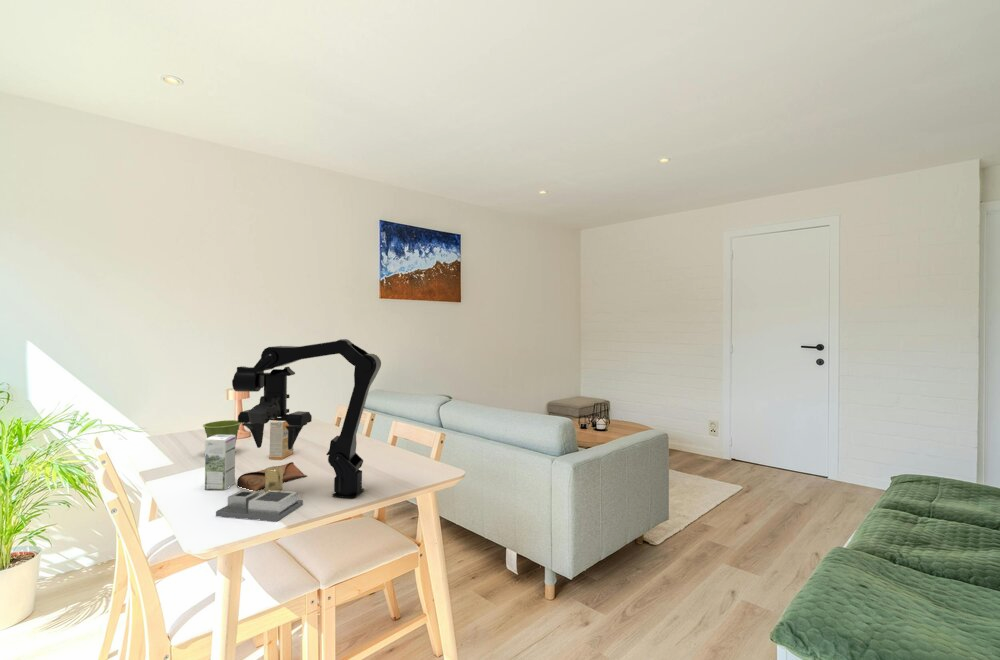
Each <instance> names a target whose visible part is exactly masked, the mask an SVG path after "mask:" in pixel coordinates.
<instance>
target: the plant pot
mask: <svg viewBox="0 0 1000 660" xmlns="http://www.w3.org/2000/svg"><path fill="white" fill-rule="evenodd" d="M240 425H242V423H238V419H237V420H236V419H230V420H229V419H228V420H216V421H210V422H206V423H204V424H203V425H202V427H203V428H204V432H205V434H206V439H207V438H209V437H211V436H213V435H235V436H236V441H237V439H238V432H239V430H240ZM236 444H237V442H236V443H235V446H236Z"/></svg>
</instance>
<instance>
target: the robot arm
mask: <svg viewBox="0 0 1000 660" xmlns="http://www.w3.org/2000/svg"><path fill="white" fill-rule="evenodd" d="M331 355H341V356H342V357H343V358H344V359H345V360H346V361H347V362H348V363H350V364H351V365H352V366H354V372H353V378H354V379H353V380H354V381H353V382H354V384H353V389H352V393H351V396H350V400H349V403H348V405H347V406H348V407H347V410H346V414H345V417H344V420H343V423H342V428H341V430H340V434H339V435H336V436H335V437H333V438H332V439H331V440H330V443H329V449H328V452H327V453H326V456H328V457H327V462H328V464H329V465H330V467H332V468H333V469H334V474H335V477H334V479H333V482H334V483H333V492H334V493H333V494H332V497H334V498H344V499H345V498H347V499H355V498H357V497H358V496H359V495H360V493H361V492H362V493H363V492H364V491H365V488H363V470H361V467H362V466H363V463H364V459H363V458H362V457H361V456H360V455H359V454H358V453H357V452H356V451H357V443H358V442H357V432H358V430H359V426H360V423H361V420H362V419H361V418H362V415H363V412H364V409H365V406H366V400H367V398H368V395H369V390H370V388H371V387H372V384H373V382H374V380H375V379H376V377H377V375H378V374H379V371H380V369H381V366H382V361H381V358H380V356H378V355H377V354H375V353H368V352H367V351H366V350H365V349H363V348H361V347H359V346H358V345H356V344H354V343H353V342H351V341H350V340H349V339H346V338H342V339H341V338H340V339H338V340H335V341H327V342H320V343H314V344H308V345H302V346H296V345H295V346H293V345H277V346H276V345H275V346H268V347H266V348H264V349H263V350H262V352H261V354H260V359H259V360H258V361H257V362H256V364H255V365H254V366H251V367H250V366H244V365H243V366H242V365H241V366H237V367H236V372H235V373H234V375H233V378H232V380H231V384H232V388H233V390H234V391H235V392H246V393H247V392H249V393H250V392H255V393H257V392H260V391H261V389H262V388H263V395H262V396H261V395H260V398H259V402H258V404H255V405H254V406H253V407H252V408H251V409H248V410H244V411H243V410H241V411H240V412H239V414H238V415H237V420H238V423H241V425H242V426H243V427H244V426H245V427H246V428H247V429H248V430H249V431H250V433H251V435H252V438H253V439H254V443H255V445H256V447H257V448H258V449H260V448H262V444H263V439H264V431H265V429H264V428H265V424H268V423H270V422H269V421H274V420H275V421H287V423H288V424H289V425H288V426H286V428H287V430H288V450H290V449H292V447H293V448H294V445H295V442H296V440H297V438H298V436H299V434H300V432H301V431H302V429H303V427H304V426H307V425H308V424H309V423H311V422H312V418H313V416H312V414H311V413H310V411H300V410H299V411H294V412H291V413H290V408H287V401H288V400H287V399H290V393H288V390H287V389H288V377H290V376H294V375H296V372H295V371H294V370H293V369H291V368H290V366H286V365H290V364H292V363H295V362H298V361H301V360H304V359H305V360H306V359H313V358H319V357H325V356H331ZM284 366H286V367H284ZM279 367H284V368H283V369H282V368H281V369H279ZM277 368H278V369H277ZM270 370H271V371H270ZM265 371H270V372H265ZM357 495H358V496H357ZM356 496H357V497H356Z"/></svg>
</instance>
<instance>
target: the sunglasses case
mask: <svg viewBox="0 0 1000 660" xmlns="http://www.w3.org/2000/svg"><path fill="white" fill-rule="evenodd" d="M280 466H281V467H283V484H285V483H289V482H291V481H295V480H299V479H302V478H306V477H308V475H307V474H304V473H303V472H302V471H301V469H300V468H298V467H297V466H296V465H295V463H294V462H293V461H292V462H291V461H290V462H288V463H286V464H282V465H280ZM265 469H266V468H265ZM265 469H261V470H258V471H252V472H251V471H249V472H247V473H243V474H241V475H240V476H239V477H238V479H237V483H236V486H237V487H238V486H239V487H242V488H246V489H249V490H253V491H258V490H259V491H261V489H262V490H265V489H264V488H265ZM284 482H285V483H284ZM239 487H238V488H239ZM242 488H241V489H242ZM249 490H248V491H249Z"/></svg>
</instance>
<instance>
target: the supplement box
mask: <svg viewBox="0 0 1000 660" xmlns="http://www.w3.org/2000/svg"><path fill="white" fill-rule="evenodd" d="M288 425H289V424H288V423H287V421H275V420H270V422H269V426H270V427H269V456H268V457H269V460H284V459H285V458H287V457H288V456H290V455H292V454H294V446H293V447H292V449H290V450H288V430H287V428H286V426H288Z"/></svg>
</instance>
